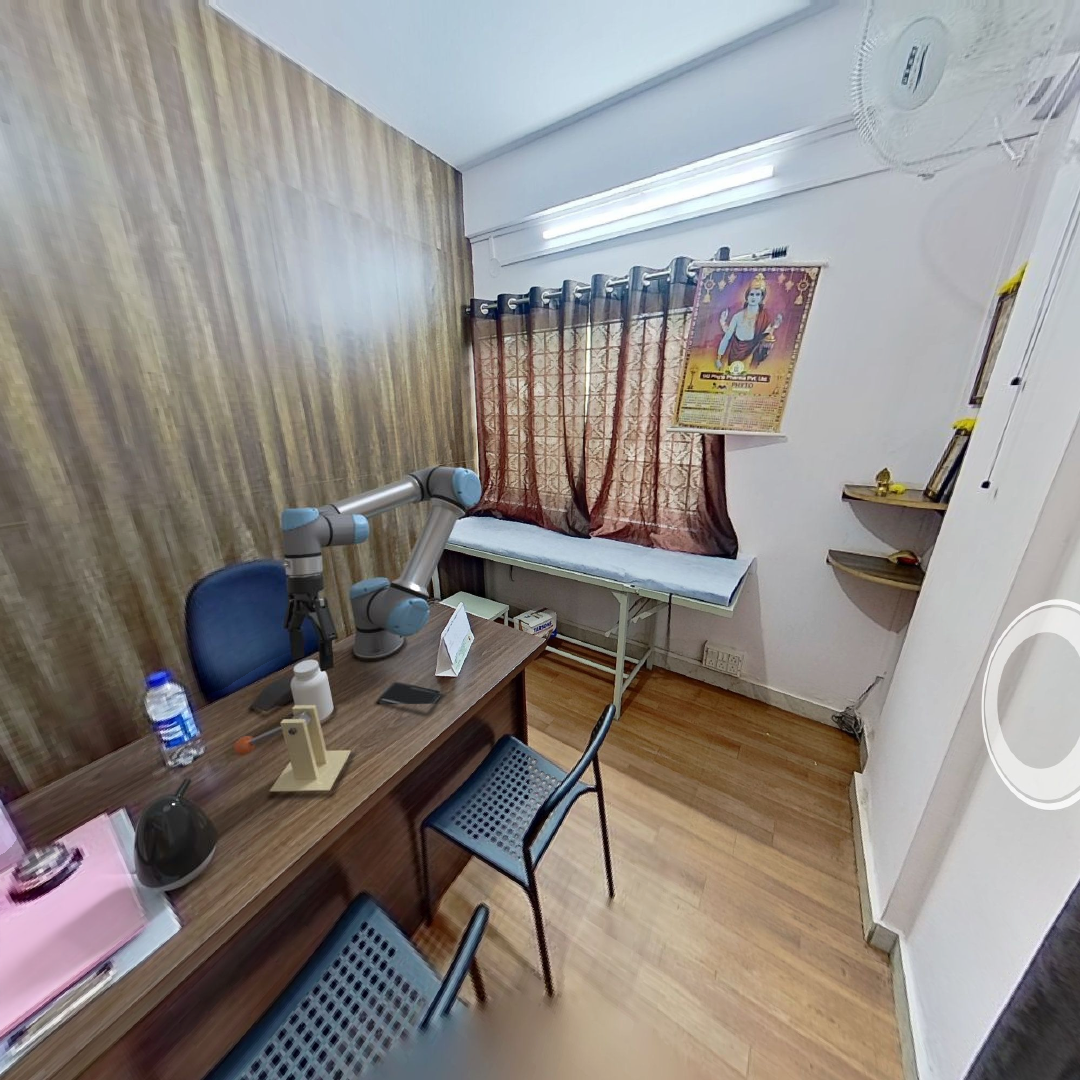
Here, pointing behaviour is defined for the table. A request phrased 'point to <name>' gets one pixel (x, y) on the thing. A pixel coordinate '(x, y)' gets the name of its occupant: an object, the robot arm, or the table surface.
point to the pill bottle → (312, 687)
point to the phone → (409, 695)
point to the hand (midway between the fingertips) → (312, 663)
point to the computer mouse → (275, 694)
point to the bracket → (308, 755)
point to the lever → (263, 736)
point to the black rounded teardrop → (173, 841)
